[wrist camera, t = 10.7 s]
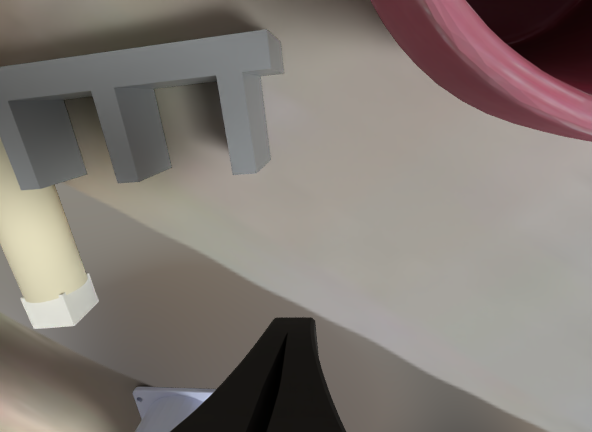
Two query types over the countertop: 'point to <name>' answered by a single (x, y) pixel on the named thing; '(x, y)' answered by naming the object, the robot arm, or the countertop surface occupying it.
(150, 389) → the robot arm
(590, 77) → the plant pot
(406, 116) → the countertop surface
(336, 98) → the countertop surface
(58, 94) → the grey comb rack
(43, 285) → the cream cylinder column
